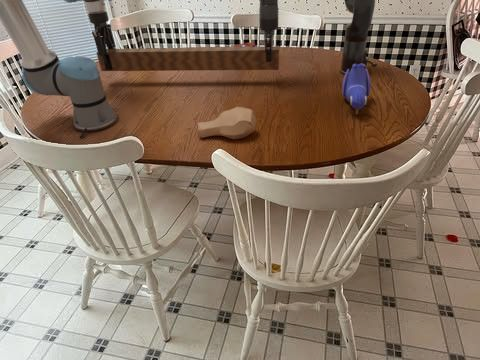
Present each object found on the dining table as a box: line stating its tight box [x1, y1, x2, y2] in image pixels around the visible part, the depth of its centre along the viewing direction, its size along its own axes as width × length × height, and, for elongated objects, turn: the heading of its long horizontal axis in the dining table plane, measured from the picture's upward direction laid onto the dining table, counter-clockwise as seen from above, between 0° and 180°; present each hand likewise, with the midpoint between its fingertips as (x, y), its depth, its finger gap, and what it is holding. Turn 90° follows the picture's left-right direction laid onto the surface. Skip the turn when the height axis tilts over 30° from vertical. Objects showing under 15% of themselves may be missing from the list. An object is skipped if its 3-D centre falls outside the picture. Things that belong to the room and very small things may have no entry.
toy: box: [341, 63, 371, 116], centre depth 129 cm, size 10×17×25 cm
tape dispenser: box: [230, 41, 256, 47], centre depth 185 cm, size 18×5×20 cm
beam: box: [96, 45, 280, 72], centre depth 154 cm, size 79×5×8 cm, turn 83°
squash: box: [197, 106, 257, 140], centre depth 118 cm, size 11×20×9 cm, turn 92°
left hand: (112, 67), depth 160 cm, fingers closed on beam, 5 cm apart
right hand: (269, 59), depth 150 cm, fingers closed on beam, 5 cm apart
